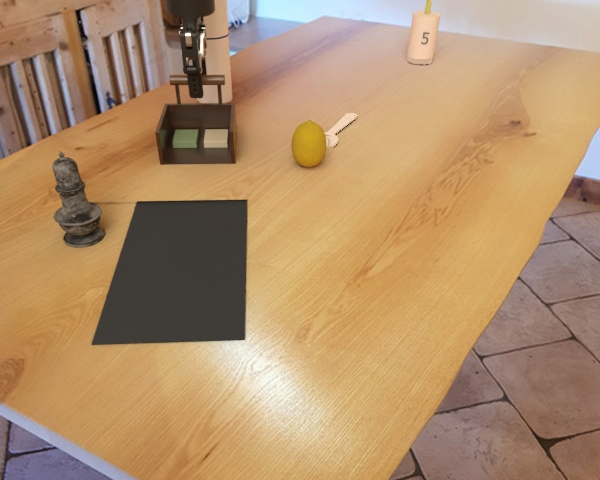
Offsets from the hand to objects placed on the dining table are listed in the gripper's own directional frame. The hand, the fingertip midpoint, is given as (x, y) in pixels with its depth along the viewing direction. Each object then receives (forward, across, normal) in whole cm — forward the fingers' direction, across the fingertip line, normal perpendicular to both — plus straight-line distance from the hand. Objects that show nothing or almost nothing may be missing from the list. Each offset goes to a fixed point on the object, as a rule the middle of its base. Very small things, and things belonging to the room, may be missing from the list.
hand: (198, 88), depth 92 cm
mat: (+9, +32, 0) cm, 33 cm away
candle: (+9, -43, +49) cm, 66 cm away
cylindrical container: (+9, -18, +1) cm, 20 cm away
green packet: (+8, +3, -3) cm, 9 cm away
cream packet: (+8, +3, +2) cm, 9 cm away
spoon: (+9, -2, +24) cm, 25 cm away
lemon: (+9, +12, +18) cm, 23 cm away
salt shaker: (+9, +31, -14) cm, 35 cm away
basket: (+9, +6, 0) cm, 10 cm away
